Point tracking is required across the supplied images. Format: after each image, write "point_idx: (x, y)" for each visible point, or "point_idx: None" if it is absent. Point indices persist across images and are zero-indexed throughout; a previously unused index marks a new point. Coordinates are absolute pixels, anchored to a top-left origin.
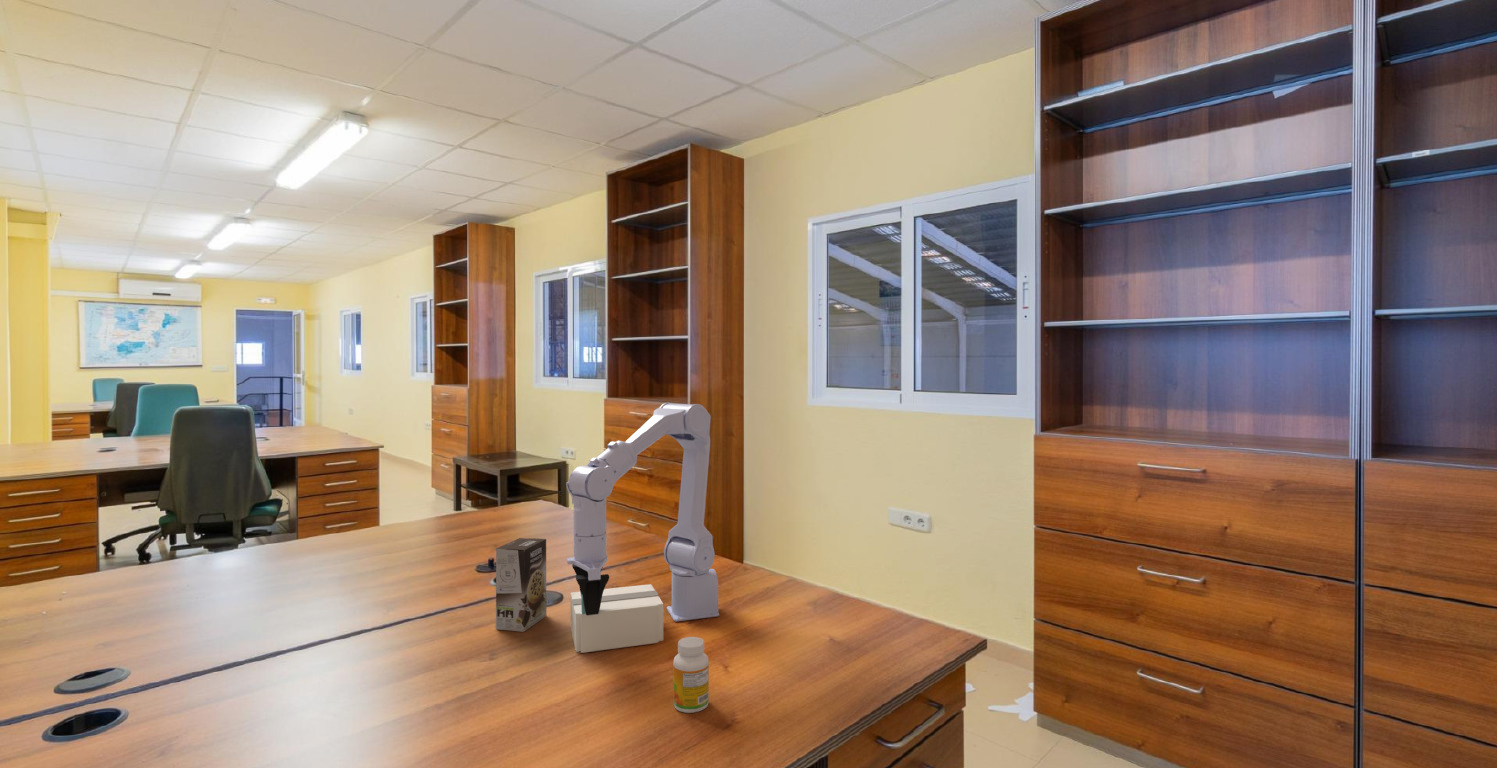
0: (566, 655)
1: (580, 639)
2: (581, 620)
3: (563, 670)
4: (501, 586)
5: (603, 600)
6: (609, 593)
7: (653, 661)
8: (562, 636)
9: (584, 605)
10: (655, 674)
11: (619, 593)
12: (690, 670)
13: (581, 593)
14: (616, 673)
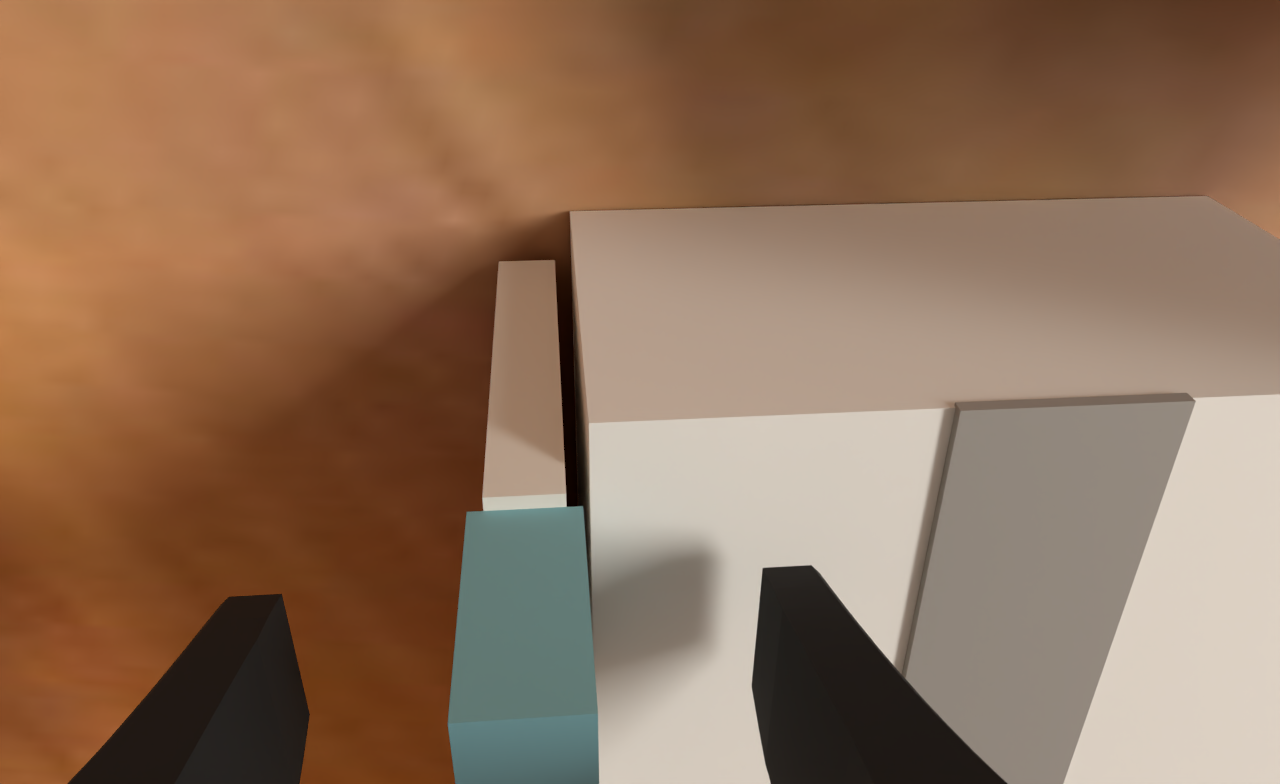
0: (524, 117)
1: (575, 308)
2: (486, 450)
3: (147, 66)
4: None
5: None
6: (1148, 770)
7: None
8: (1035, 102)
9: (141, 703)
10: (6, 717)
11: None
12: None
13: (807, 667)
14: (40, 497)
